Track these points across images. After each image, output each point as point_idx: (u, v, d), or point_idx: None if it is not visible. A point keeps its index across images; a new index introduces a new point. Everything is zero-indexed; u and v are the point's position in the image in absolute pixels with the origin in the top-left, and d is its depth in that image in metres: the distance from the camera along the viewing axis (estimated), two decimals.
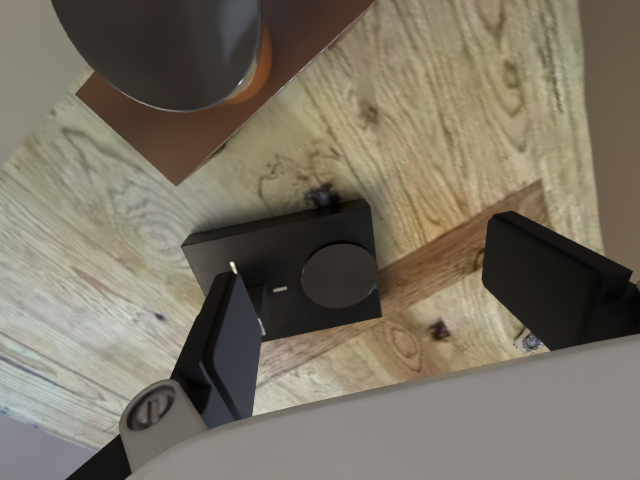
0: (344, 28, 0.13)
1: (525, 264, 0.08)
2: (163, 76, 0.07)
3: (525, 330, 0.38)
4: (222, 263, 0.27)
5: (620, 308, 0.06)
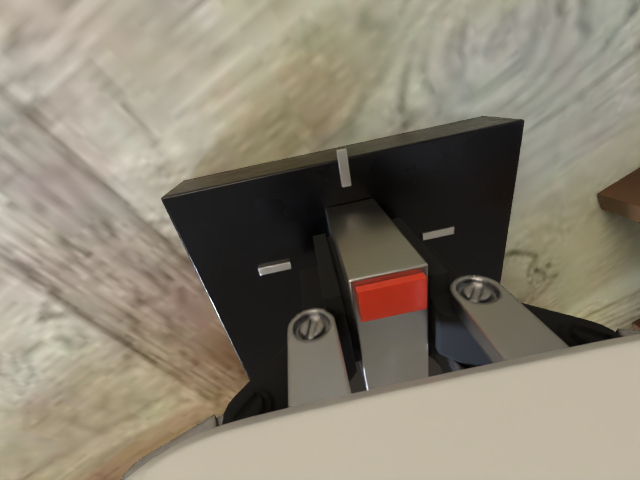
0: None
1: None
2: None
3: None
4: (452, 209, 0.12)
5: (442, 302, 0.07)
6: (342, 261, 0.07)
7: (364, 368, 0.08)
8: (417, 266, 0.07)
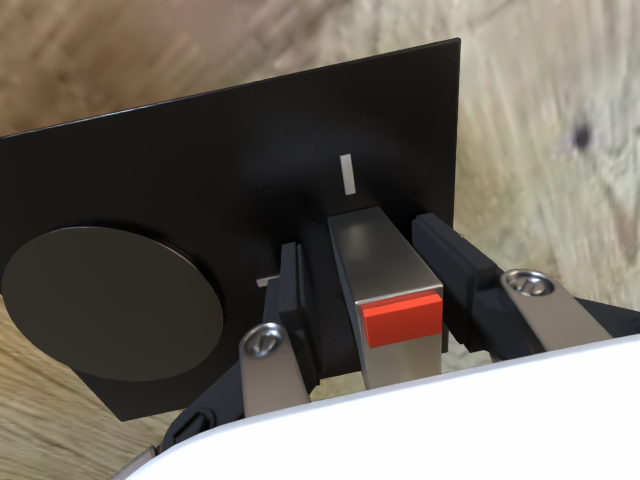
0: None
1: (434, 260, 0.09)
2: None
3: None
4: None
5: (489, 296, 0.07)
6: (347, 279, 0.07)
7: None
8: (431, 287, 0.06)
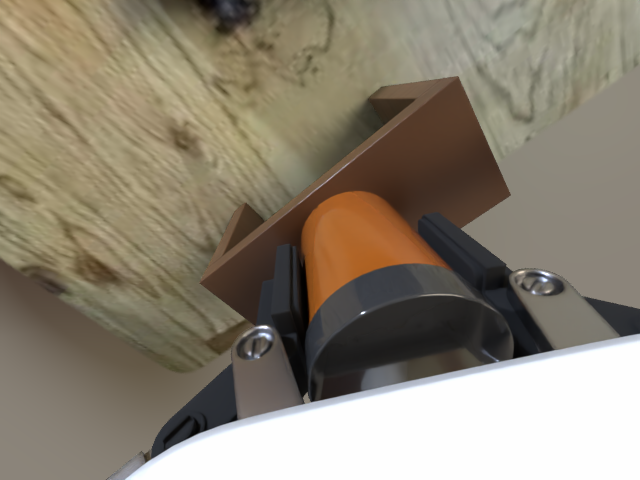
0: (226, 263, 0.13)
1: None
2: (435, 327, 0.06)
3: None
4: None
5: (497, 296, 0.07)
6: None
7: None
8: None
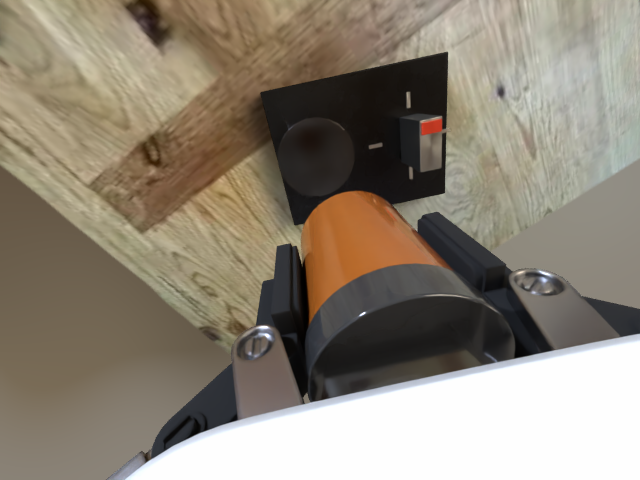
0: None
1: None
2: (435, 327, 0.06)
3: None
4: (418, 176, 0.31)
5: (497, 296, 0.07)
6: (415, 120, 0.24)
7: (420, 159, 0.25)
8: (439, 116, 0.23)
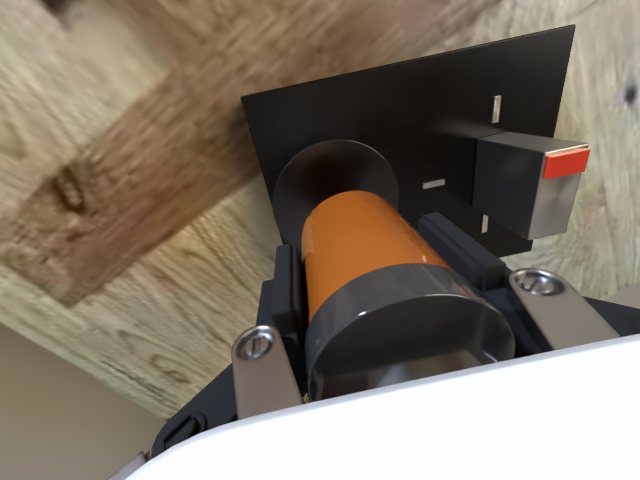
0: None
1: None
2: (435, 328, 0.06)
3: None
4: (495, 228, 0.20)
5: (497, 296, 0.07)
6: (529, 149, 0.13)
7: (533, 219, 0.14)
8: (583, 144, 0.12)
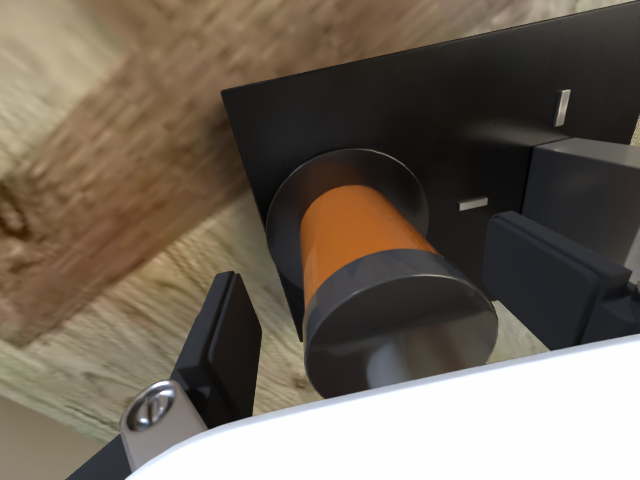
0: None
1: (525, 264, 0.08)
2: (423, 307, 0.06)
3: None
4: None
5: (620, 308, 0.06)
6: (629, 166, 0.09)
7: (627, 262, 0.10)
8: None
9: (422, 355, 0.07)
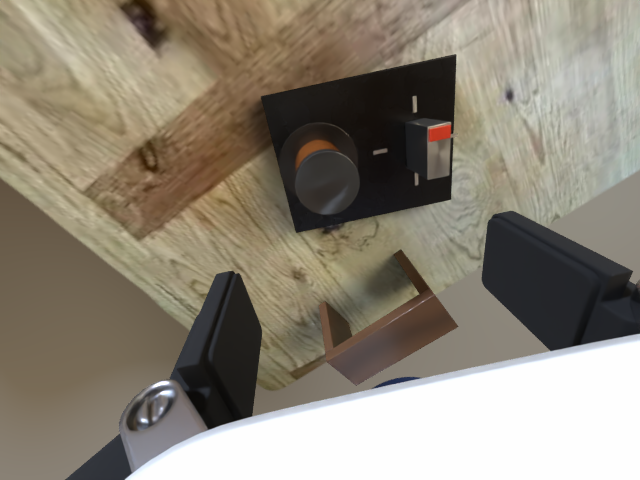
0: (339, 354, 0.31)
1: (525, 264, 0.08)
2: (331, 163, 0.20)
3: None
4: (424, 182, 0.30)
5: (619, 308, 0.06)
6: (422, 126, 0.23)
7: (428, 166, 0.24)
8: (448, 122, 0.22)
9: (334, 185, 0.21)
